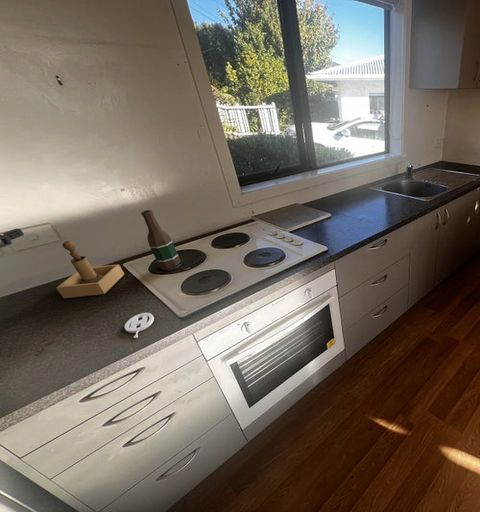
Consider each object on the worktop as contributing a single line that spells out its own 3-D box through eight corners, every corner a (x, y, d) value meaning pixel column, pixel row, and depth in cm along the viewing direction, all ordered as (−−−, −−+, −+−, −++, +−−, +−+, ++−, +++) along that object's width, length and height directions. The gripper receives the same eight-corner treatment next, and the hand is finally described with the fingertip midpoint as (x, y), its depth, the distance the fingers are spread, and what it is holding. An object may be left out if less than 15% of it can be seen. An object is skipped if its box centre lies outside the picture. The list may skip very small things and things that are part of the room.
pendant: (155, 311, 94) (154, 309, 94) (151, 333, 86) (150, 331, 86) (128, 319, 91) (127, 317, 91) (121, 342, 83) (120, 340, 83)
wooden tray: (63, 298, 101) (55, 287, 98) (87, 277, 111) (81, 268, 109) (104, 293, 103) (98, 283, 100) (124, 274, 113) (119, 264, 111)
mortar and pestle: (100, 288, 105) (72, 244, 95) (78, 291, 103) (48, 247, 94) (109, 278, 110) (83, 236, 101) (89, 280, 109) (61, 238, 99)
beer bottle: (184, 259, 123) (161, 206, 110) (179, 269, 116) (155, 213, 104) (163, 262, 120) (138, 208, 108) (157, 272, 114) (129, 216, 102)
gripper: (-62, 248, 67) (21, 219, 81) (-113, 244, 68) (-22, 217, 82) (-38, 274, 71) (38, 243, 84) (-86, 271, 72) (-4, 240, 86)
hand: (8, 230), depth 83 cm, fingers open, 8 cm apart
